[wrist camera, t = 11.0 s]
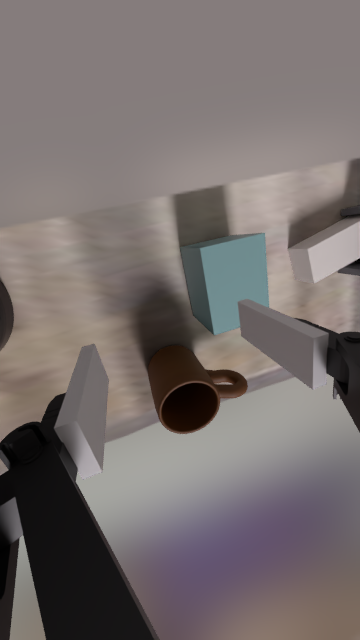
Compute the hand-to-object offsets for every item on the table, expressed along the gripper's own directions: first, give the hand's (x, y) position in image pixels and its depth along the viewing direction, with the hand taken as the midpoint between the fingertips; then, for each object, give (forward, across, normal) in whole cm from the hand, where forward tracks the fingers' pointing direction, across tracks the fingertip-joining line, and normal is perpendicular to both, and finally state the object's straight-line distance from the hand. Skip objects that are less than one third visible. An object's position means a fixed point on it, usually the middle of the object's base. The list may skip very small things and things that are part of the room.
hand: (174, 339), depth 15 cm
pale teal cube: (+16, +9, 0) cm, 18 cm away
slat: (+16, +28, 0) cm, 32 cm away
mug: (+16, +3, -12) cm, 20 cm away
